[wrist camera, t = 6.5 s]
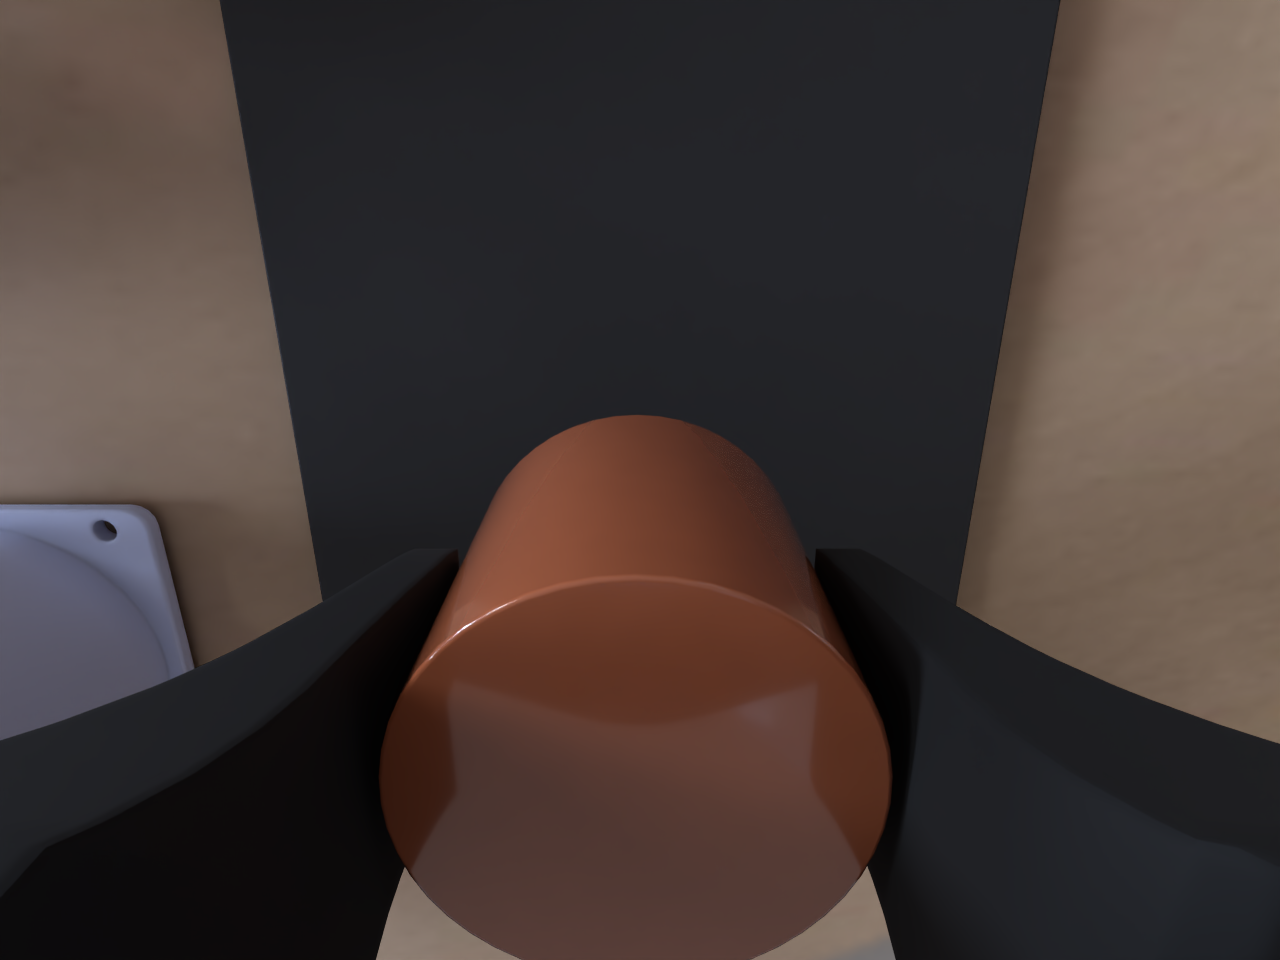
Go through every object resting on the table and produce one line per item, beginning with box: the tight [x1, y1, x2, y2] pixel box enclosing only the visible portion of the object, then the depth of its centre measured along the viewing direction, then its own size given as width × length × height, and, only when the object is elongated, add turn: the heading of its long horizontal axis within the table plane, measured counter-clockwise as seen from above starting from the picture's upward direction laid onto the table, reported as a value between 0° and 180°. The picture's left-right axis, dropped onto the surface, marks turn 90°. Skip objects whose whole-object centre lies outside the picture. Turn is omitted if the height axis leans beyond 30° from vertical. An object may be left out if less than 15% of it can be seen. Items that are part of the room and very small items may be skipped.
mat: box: [220, 0, 1060, 605], centre depth 17 cm, size 15×20×1 cm
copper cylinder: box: [378, 415, 893, 960], centre depth 10 cm, size 5×5×5 cm
